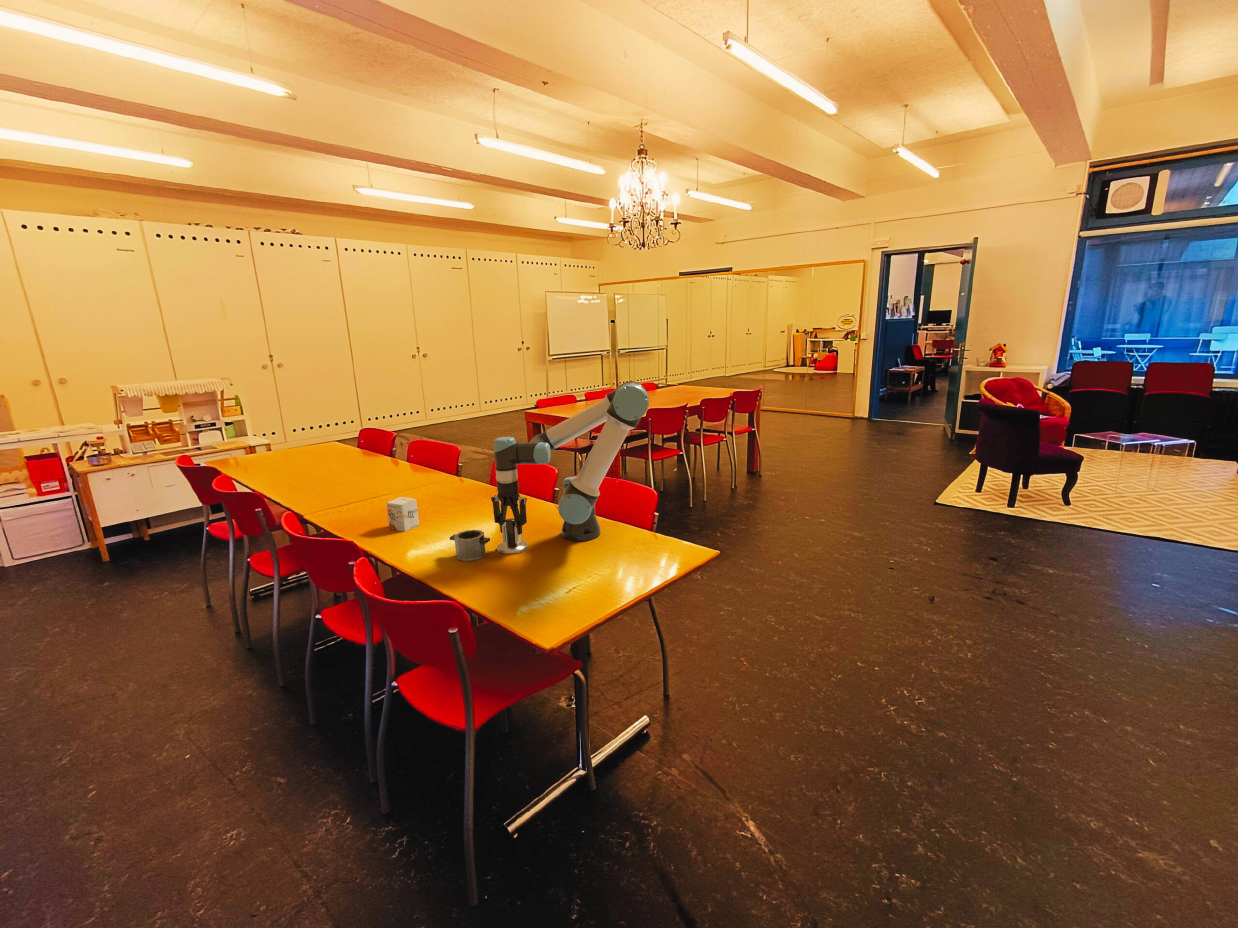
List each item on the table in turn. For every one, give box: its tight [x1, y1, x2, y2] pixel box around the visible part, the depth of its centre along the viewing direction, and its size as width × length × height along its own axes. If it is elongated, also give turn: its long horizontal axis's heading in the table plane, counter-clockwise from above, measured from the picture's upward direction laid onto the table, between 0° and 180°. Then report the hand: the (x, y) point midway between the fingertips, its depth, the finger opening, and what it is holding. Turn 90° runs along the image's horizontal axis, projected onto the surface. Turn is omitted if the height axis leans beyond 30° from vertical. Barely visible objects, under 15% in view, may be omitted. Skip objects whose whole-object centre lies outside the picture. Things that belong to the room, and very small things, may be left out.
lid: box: [496, 517, 529, 556], centre depth 197 cm, size 11×11×11 cm
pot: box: [449, 529, 491, 563], centre depth 191 cm, size 15×10×8 cm
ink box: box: [385, 496, 420, 532], centre depth 222 cm, size 9×9×12 cm
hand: (512, 541), depth 197 cm, fingers open, 4 cm apart
